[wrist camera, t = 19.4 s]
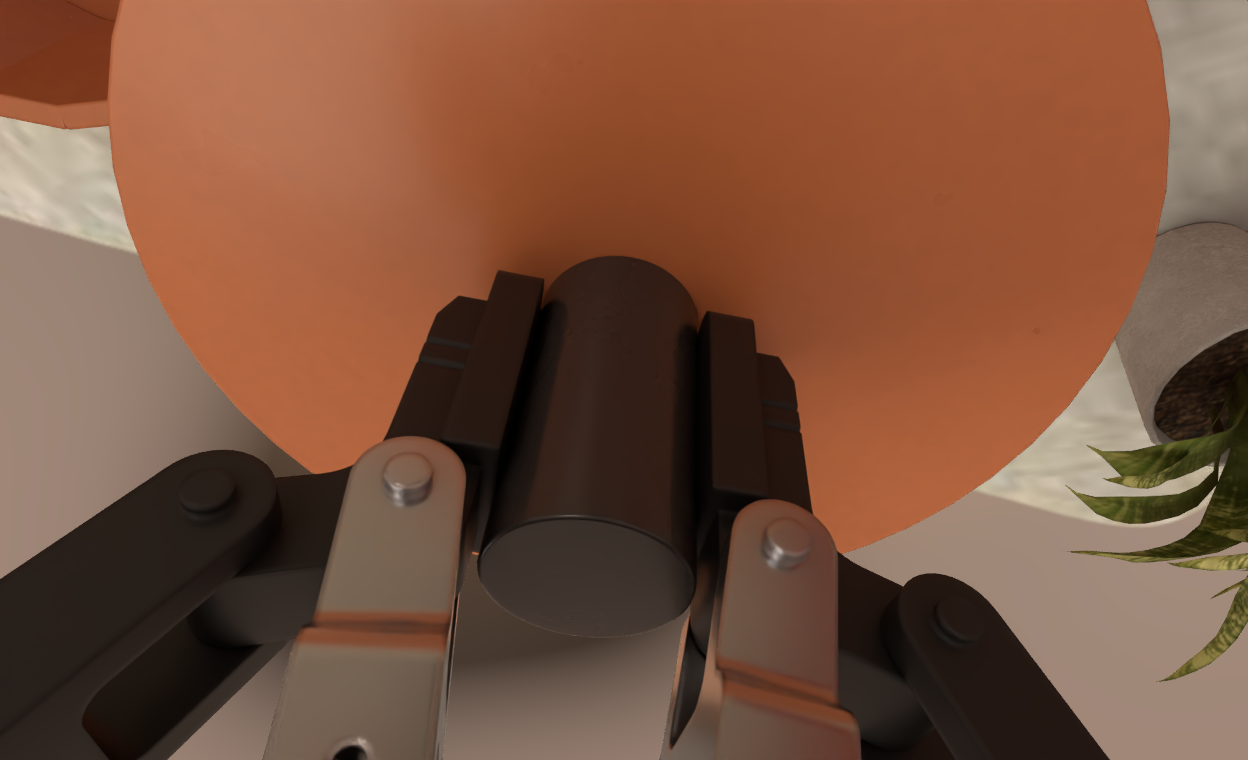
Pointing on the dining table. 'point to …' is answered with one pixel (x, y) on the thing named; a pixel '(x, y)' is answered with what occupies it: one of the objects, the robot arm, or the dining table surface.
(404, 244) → the lid
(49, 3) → the pan
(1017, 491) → the dining table surface
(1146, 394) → the house plant
